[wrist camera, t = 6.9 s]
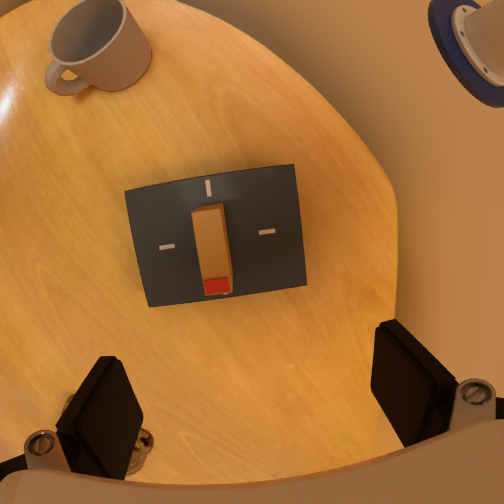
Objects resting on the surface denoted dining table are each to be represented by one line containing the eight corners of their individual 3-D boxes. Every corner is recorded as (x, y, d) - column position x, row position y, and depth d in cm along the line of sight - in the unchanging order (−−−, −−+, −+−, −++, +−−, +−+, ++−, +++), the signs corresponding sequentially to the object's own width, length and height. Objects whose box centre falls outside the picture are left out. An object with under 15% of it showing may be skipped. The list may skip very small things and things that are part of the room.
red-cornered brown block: (199, 206, 25) (190, 212, 20) (223, 202, 25) (220, 208, 20) (210, 273, 27) (204, 297, 21) (232, 270, 27) (232, 293, 21)
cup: (165, 61, 25) (142, 21, 16) (89, 124, 25) (42, 108, 17) (132, 23, 23) (104, -19, 14) (61, 82, 24) (16, 59, 15)
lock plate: (287, 165, 28) (294, 163, 25) (300, 275, 30) (307, 286, 27) (134, 190, 27) (123, 191, 24) (155, 296, 30) (148, 308, 27)
